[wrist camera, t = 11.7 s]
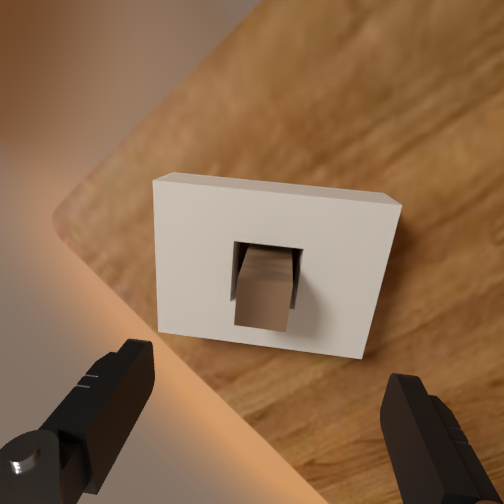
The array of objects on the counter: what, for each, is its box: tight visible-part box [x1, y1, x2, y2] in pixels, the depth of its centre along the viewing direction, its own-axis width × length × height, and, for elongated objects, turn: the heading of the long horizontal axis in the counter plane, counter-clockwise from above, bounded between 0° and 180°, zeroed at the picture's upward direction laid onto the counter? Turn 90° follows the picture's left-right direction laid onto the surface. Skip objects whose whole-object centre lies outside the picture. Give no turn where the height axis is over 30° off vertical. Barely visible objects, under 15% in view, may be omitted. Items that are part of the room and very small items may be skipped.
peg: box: [234, 243, 293, 332], centre depth 28 cm, size 4×4×10 cm
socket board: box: [153, 172, 402, 359], centre depth 30 cm, size 20×15×5 cm
